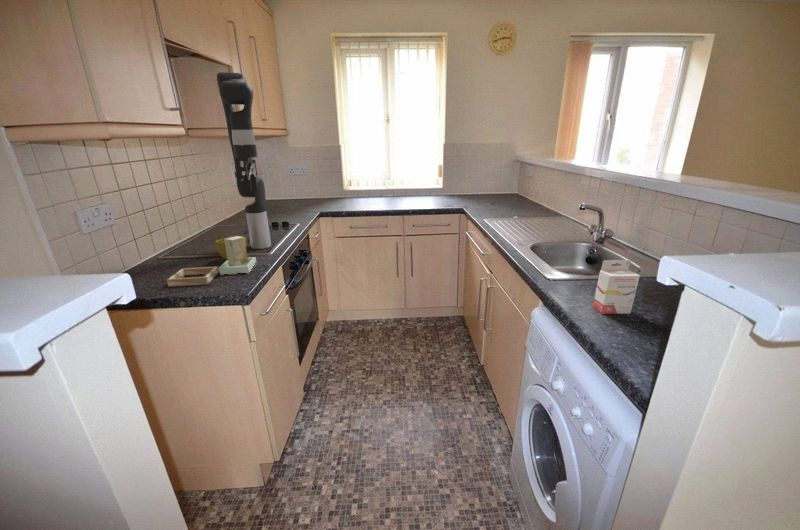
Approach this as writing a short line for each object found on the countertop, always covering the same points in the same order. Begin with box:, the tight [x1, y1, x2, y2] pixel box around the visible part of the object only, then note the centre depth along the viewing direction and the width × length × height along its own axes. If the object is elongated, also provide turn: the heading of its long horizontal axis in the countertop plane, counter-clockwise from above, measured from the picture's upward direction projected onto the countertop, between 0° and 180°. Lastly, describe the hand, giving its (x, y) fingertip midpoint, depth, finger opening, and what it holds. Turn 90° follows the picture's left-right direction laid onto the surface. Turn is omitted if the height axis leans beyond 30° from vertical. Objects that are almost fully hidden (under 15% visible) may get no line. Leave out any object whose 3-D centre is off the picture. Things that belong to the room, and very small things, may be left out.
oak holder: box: [166, 266, 220, 287], centre depth 126 cm, size 12×13×2 cm
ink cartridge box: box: [592, 259, 641, 315], centre depth 96 cm, size 9×5×15 cm, turn 92°
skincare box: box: [223, 235, 248, 267], centre depth 135 cm, size 6×4×12 cm
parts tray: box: [218, 256, 257, 276], centre depth 136 cm, size 12×11×3 cm
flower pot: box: [214, 236, 247, 260], centre depth 147 cm, size 9×9×9 cm
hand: (251, 189), depth 129 cm, fingers open, 8 cm apart
